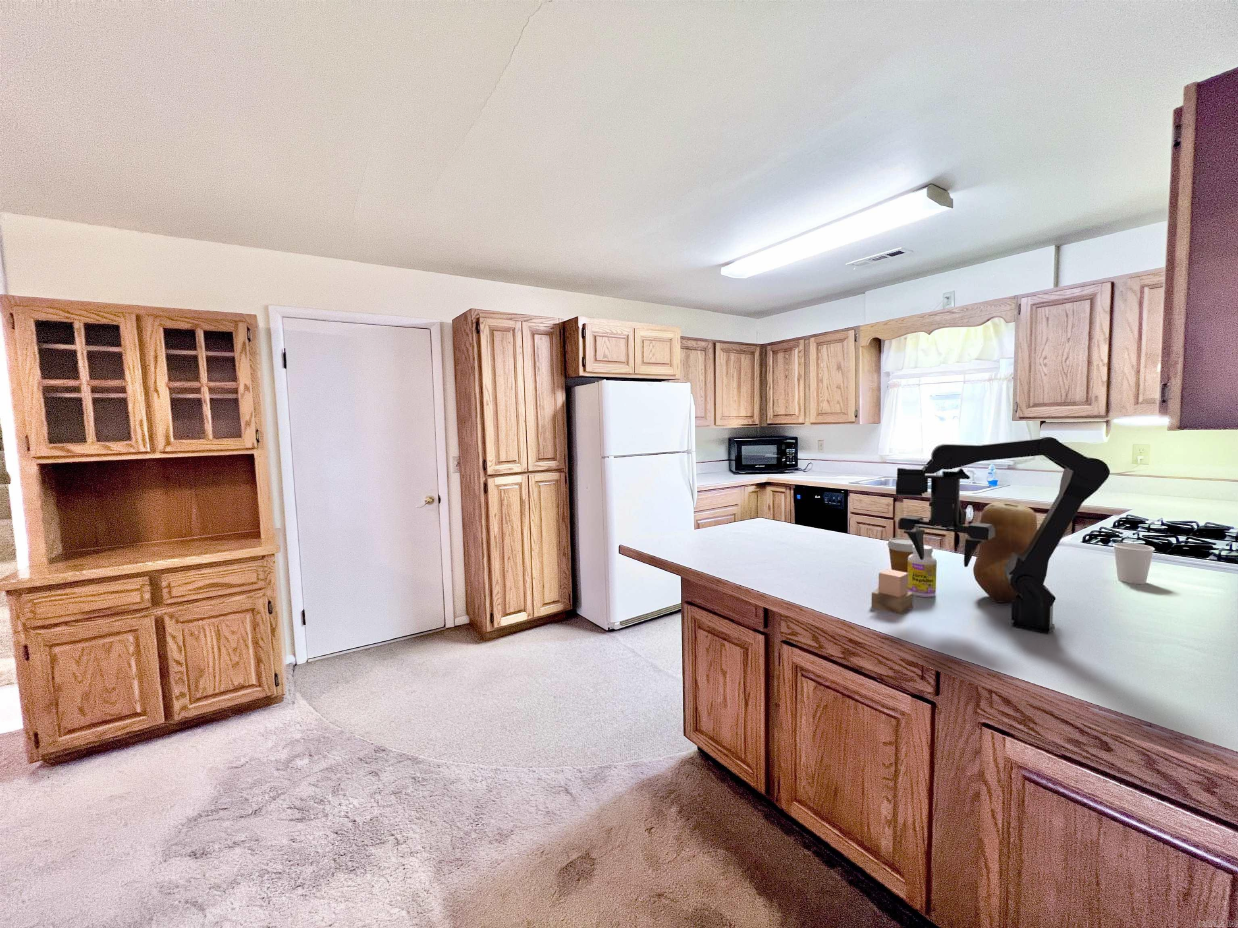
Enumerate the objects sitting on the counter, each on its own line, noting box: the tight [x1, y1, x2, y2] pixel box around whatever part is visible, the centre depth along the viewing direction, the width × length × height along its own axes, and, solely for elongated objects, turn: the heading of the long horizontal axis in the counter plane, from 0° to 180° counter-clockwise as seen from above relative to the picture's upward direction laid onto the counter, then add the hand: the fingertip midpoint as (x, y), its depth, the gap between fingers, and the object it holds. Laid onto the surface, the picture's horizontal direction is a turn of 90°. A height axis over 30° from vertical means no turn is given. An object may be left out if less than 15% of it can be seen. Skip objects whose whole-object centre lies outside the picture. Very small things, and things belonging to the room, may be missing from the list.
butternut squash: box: [972, 501, 1038, 603], centre depth 131 cm, size 14×13×25 cm
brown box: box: [870, 589, 914, 615], centre depth 128 cm, size 7×7×4 cm
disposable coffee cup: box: [886, 537, 914, 573], centre depth 148 cm, size 10×10×12 cm
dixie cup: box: [1112, 542, 1156, 585], centre depth 145 cm, size 8×8×10 cm
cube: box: [877, 568, 908, 597], centre depth 128 cm, size 5×5×5 cm
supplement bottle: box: [908, 544, 938, 598], centre depth 137 cm, size 7×7×13 cm
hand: (943, 562), depth 122 cm, fingers open, 9 cm apart
